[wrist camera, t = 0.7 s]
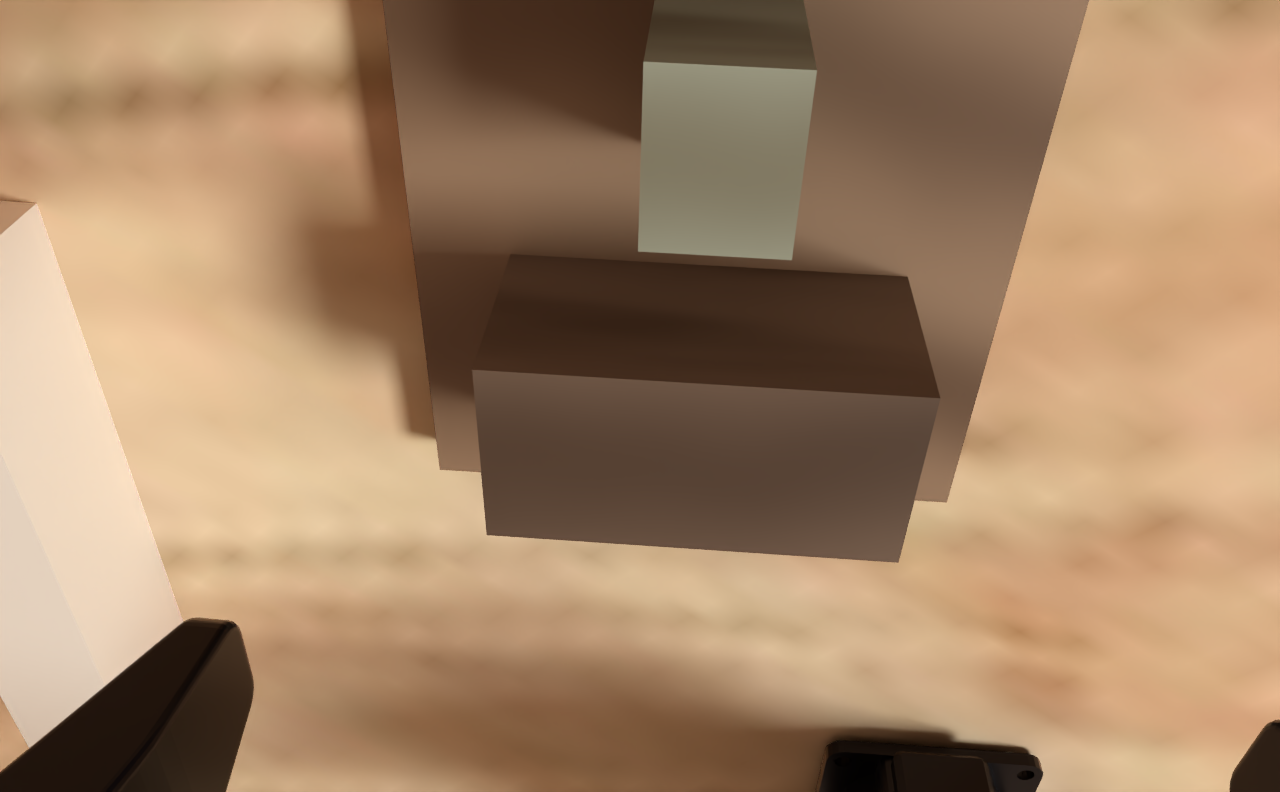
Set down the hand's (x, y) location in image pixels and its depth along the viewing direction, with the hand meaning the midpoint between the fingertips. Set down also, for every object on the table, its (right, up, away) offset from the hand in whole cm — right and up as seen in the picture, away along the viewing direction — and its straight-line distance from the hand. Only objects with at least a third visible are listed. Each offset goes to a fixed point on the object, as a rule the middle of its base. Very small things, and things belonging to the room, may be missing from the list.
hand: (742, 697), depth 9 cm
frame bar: (-16, +1, +18) cm, 24 cm away
